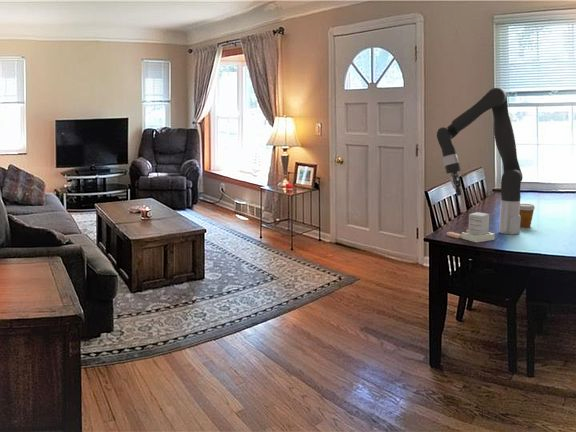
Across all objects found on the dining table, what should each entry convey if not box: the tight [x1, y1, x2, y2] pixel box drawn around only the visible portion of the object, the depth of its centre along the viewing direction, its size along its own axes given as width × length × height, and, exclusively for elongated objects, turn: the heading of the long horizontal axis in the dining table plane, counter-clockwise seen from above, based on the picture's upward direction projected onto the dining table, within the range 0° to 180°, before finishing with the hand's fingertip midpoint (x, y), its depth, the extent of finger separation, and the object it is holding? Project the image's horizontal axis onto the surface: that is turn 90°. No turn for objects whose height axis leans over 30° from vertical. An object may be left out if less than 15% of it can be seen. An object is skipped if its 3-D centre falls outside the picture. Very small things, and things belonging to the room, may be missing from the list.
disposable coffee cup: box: [519, 203, 536, 229], centre depth 301 cm, size 10×10×12 cm
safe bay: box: [461, 231, 496, 243], centre depth 275 cm, size 10×12×3 cm
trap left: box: [446, 231, 463, 239], centre depth 281 cm, size 8×3×2 cm, turn 25°
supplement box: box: [467, 211, 490, 236], centre depth 275 cm, size 7×7×13 cm
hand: (459, 195), depth 293 cm, fingers closed
